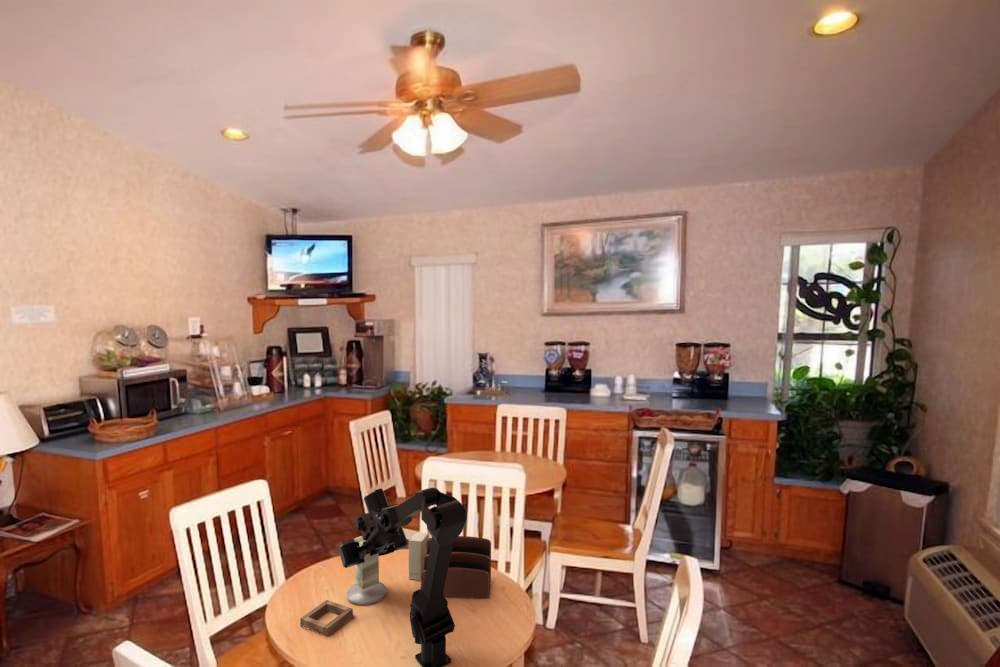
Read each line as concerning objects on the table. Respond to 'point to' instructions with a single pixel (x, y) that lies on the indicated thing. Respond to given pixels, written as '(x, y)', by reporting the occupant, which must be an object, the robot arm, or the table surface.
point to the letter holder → (466, 568)
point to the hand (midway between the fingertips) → (364, 558)
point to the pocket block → (326, 629)
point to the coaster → (366, 594)
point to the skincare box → (417, 554)
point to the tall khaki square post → (367, 569)
